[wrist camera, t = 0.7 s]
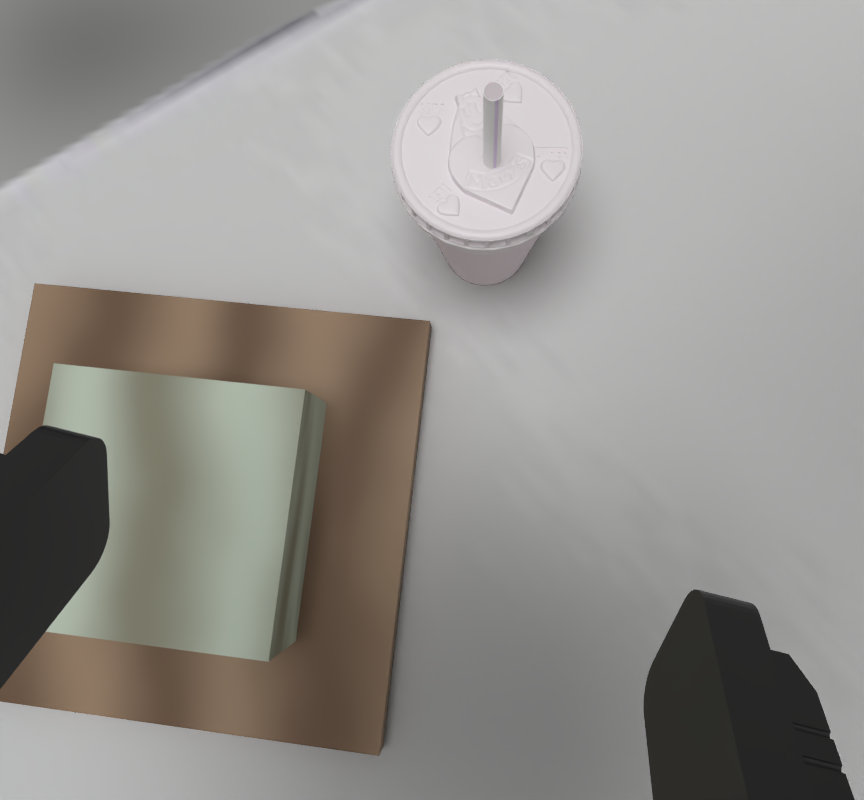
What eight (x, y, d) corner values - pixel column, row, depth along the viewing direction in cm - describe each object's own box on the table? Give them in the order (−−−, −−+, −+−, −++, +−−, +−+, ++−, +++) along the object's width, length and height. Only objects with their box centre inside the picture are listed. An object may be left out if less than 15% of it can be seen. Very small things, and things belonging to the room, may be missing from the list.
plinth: (431, 327, 34) (421, 296, 29) (383, 746, 32) (363, 793, 27) (49, 290, 35) (-25, 254, 30) (-22, 688, 33) (-115, 722, 28)
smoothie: (442, 334, 34) (413, 220, 20) (395, 206, 35) (337, 12, 21) (577, 285, 34) (643, 136, 20) (527, 158, 35) (556, -69, 21)
